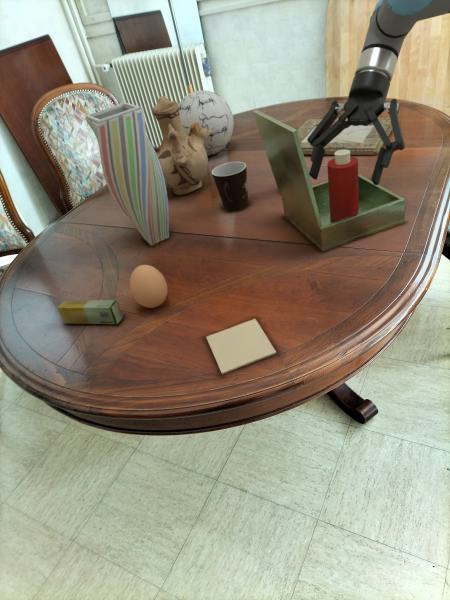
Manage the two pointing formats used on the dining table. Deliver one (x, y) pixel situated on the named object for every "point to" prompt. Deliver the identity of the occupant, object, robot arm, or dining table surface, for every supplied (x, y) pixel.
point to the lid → (288, 165)
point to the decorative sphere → (208, 118)
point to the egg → (148, 286)
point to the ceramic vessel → (180, 149)
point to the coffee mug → (232, 185)
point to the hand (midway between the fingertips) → (342, 180)
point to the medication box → (90, 311)
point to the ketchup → (343, 185)
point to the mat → (240, 346)
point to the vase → (132, 169)
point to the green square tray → (371, 219)
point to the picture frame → (347, 138)
